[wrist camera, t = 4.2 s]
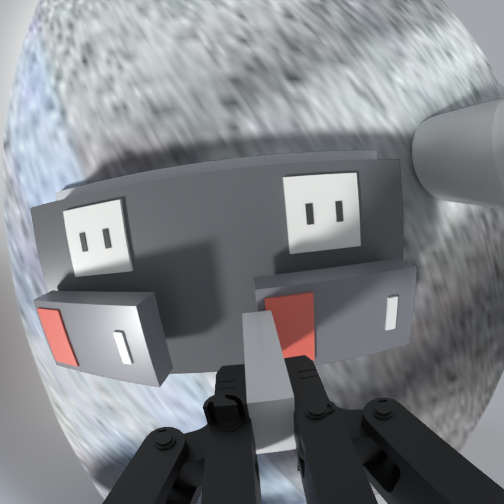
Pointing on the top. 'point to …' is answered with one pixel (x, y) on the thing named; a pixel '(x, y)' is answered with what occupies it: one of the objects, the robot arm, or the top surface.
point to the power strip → (219, 237)
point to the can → (463, 155)
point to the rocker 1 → (106, 334)
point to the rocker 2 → (340, 309)
